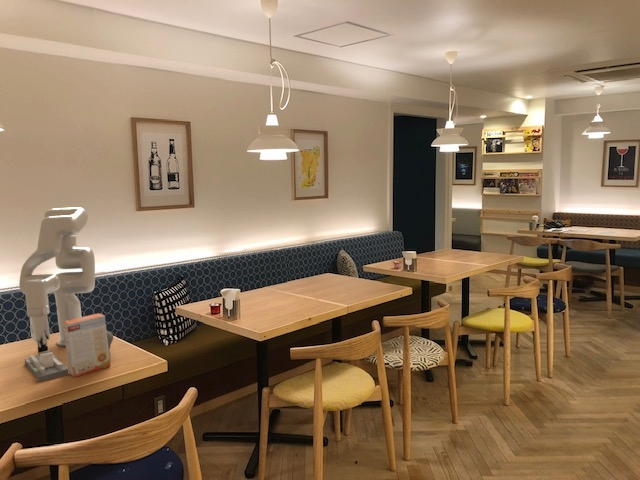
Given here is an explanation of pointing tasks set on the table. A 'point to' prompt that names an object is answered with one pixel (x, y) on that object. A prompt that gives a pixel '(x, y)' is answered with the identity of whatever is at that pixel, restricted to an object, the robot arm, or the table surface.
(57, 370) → the switch panel
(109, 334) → the light bulb
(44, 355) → the switch tab
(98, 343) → the cracker box
